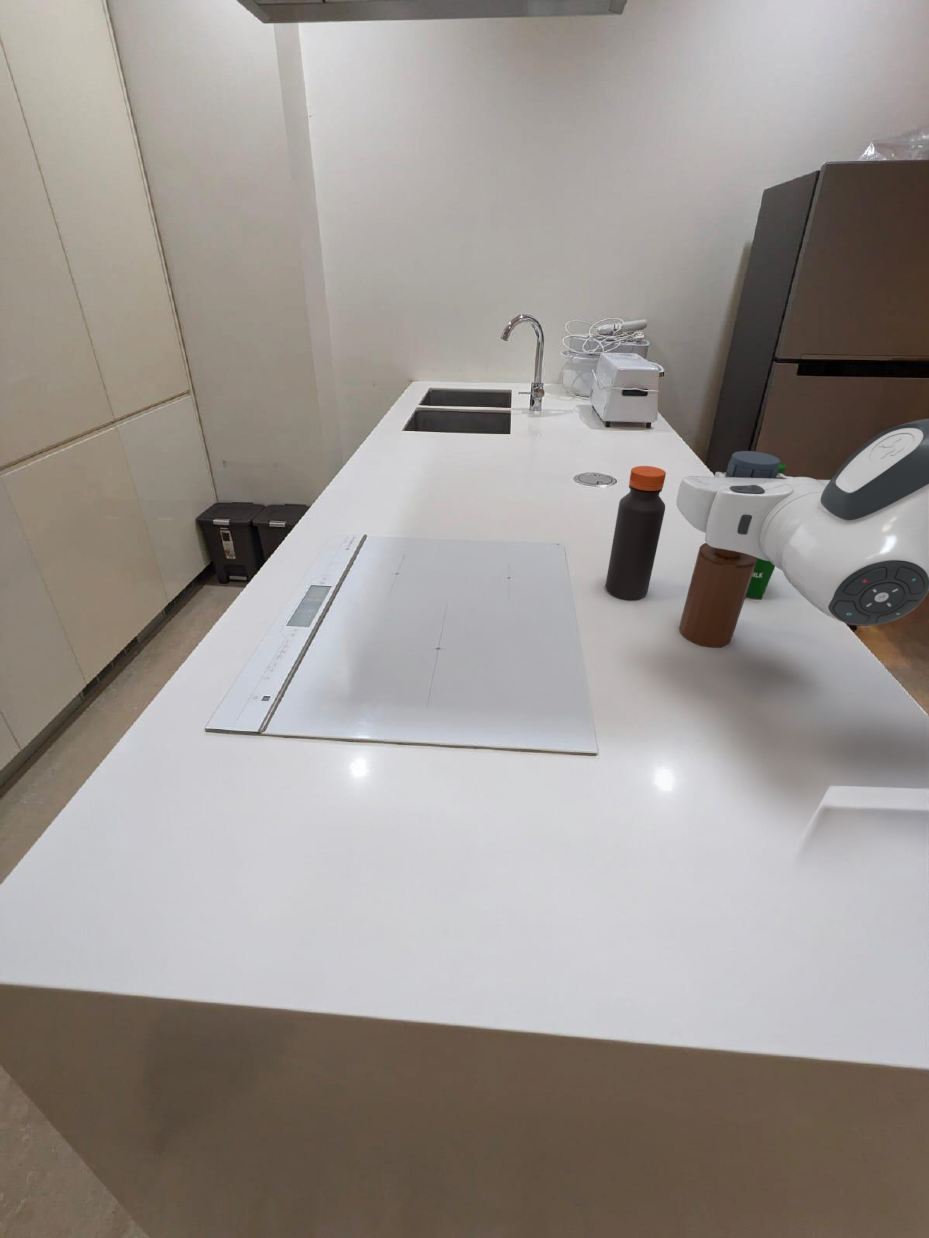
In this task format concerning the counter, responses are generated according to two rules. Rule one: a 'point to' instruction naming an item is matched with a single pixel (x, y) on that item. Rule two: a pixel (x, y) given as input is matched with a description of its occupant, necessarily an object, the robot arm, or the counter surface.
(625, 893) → the counter surface
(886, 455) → the robot arm
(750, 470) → the cylinder
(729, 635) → the bottle
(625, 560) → the vinegar
